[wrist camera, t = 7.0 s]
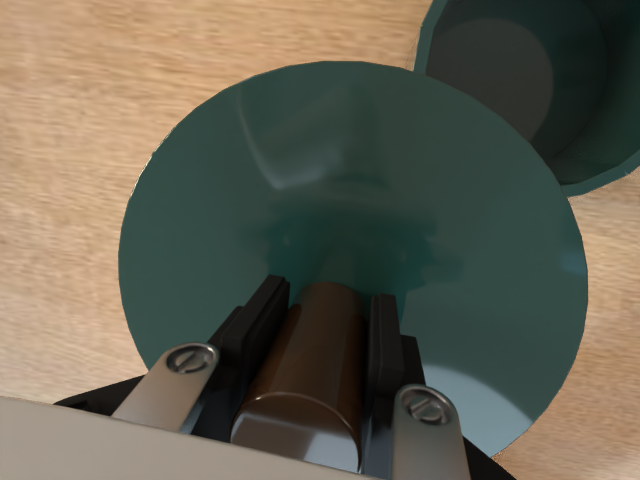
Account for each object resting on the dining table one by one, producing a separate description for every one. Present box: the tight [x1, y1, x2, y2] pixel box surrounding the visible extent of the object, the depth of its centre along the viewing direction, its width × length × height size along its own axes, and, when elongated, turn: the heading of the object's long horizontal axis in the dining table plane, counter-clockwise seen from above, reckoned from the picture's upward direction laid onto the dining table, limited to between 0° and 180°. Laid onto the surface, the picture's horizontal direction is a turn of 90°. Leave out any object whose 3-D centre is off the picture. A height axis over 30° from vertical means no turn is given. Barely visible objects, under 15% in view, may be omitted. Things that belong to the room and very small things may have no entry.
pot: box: [406, 0, 640, 197], centre depth 23 cm, size 16×16×8 cm
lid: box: [118, 61, 588, 474], centre depth 10 cm, size 17×17×7 cm
